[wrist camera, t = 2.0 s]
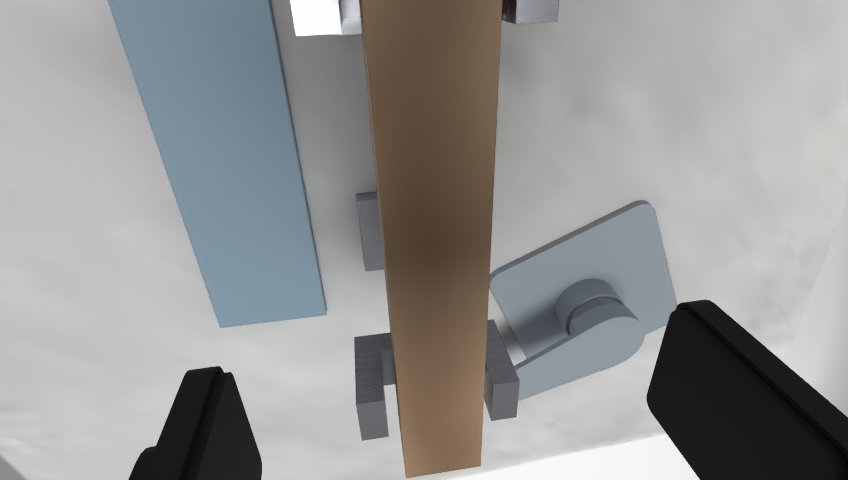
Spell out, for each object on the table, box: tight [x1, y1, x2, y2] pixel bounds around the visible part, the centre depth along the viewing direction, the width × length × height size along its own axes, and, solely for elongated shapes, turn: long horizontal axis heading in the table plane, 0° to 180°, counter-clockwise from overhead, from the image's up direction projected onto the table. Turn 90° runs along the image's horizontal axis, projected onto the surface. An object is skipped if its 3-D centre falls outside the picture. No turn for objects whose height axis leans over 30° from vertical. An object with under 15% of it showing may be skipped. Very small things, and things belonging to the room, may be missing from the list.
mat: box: [108, 0, 327, 328], centre depth 25 cm, size 7×26×1 cm, turn 2°
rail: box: [359, 0, 502, 478], centre depth 14 cm, size 3×20×3 cm, turn 2°
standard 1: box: [354, 192, 520, 441], centre depth 23 cm, size 6×5×14 cm
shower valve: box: [489, 201, 677, 401], centre depth 33 cm, size 12×6×15 cm
